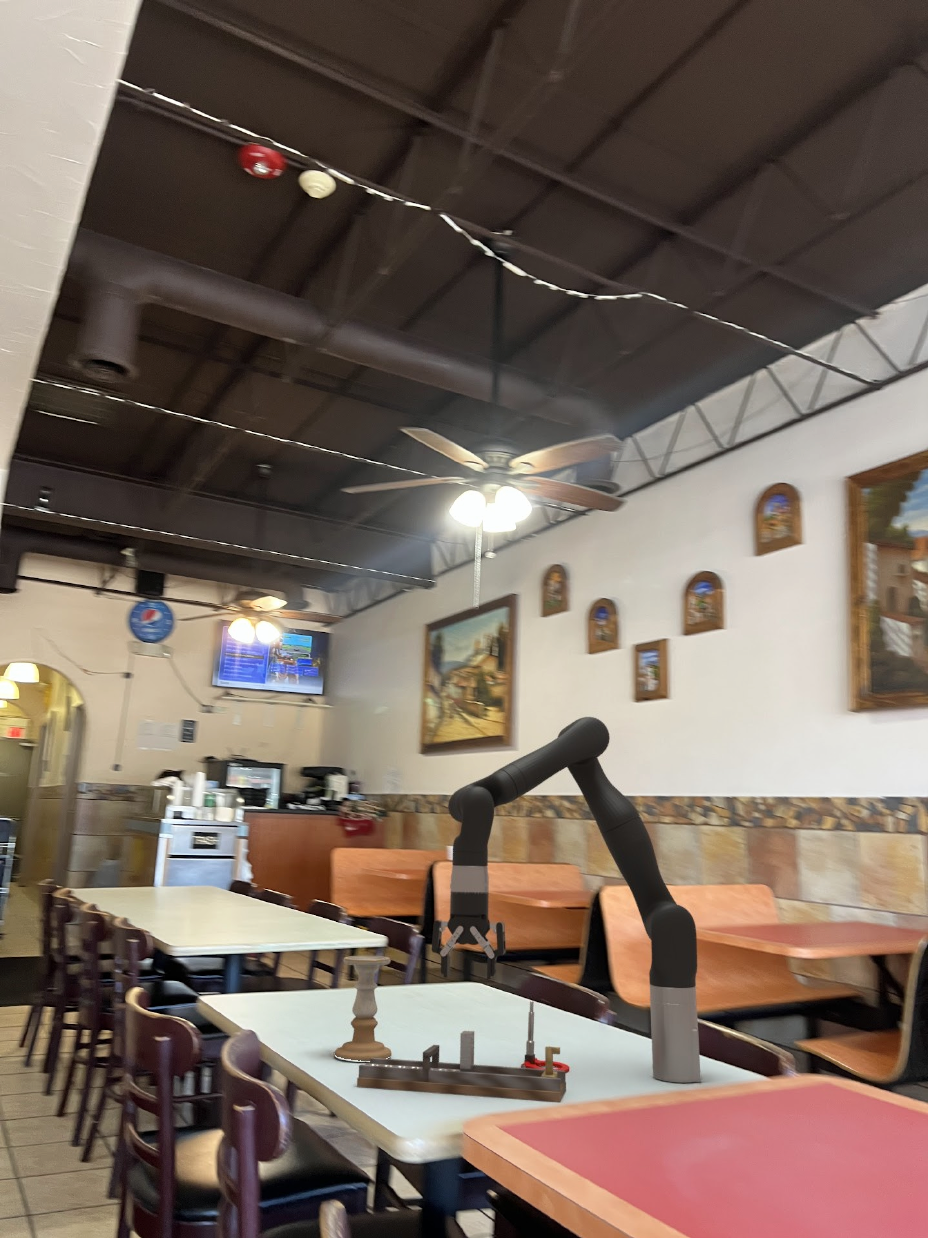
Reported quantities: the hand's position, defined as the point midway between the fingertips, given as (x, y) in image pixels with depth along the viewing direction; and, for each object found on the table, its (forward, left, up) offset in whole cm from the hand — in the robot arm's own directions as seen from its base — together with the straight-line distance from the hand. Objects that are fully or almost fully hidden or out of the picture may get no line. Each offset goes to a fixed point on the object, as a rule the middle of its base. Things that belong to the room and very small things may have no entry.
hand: (468, 978), depth 171 cm
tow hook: (-12, -21, -20) cm, 32 cm away
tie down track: (+1, 0, -19) cm, 19 cm away
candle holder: (+28, -21, -20) cm, 40 cm away
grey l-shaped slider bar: (+10, 0, -18) cm, 20 cm away
